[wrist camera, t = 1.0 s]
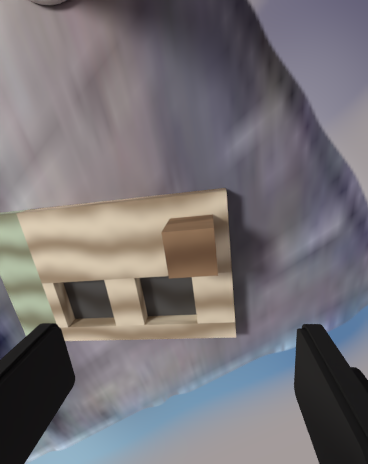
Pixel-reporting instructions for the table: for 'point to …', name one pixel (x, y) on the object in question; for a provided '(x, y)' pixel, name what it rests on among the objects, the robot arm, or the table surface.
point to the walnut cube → (190, 247)
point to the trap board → (115, 270)
